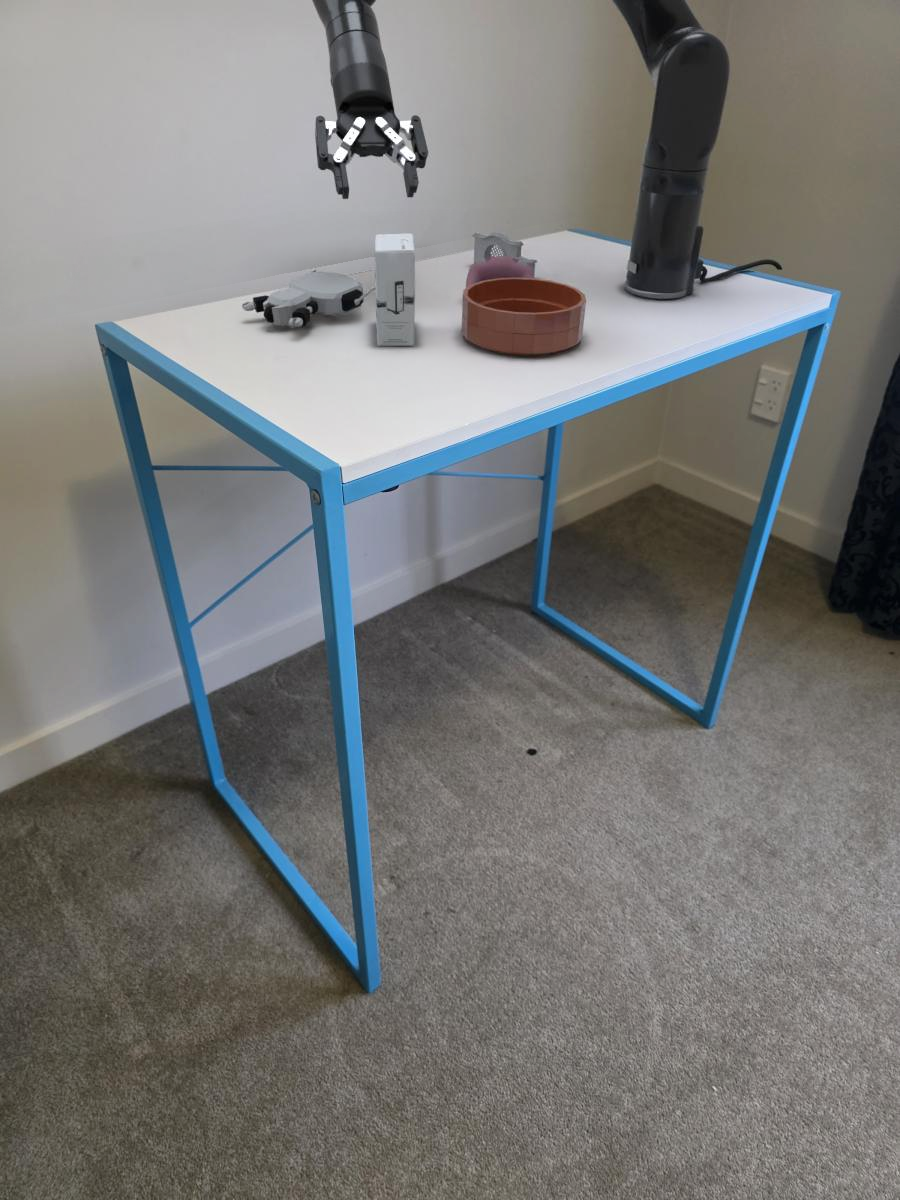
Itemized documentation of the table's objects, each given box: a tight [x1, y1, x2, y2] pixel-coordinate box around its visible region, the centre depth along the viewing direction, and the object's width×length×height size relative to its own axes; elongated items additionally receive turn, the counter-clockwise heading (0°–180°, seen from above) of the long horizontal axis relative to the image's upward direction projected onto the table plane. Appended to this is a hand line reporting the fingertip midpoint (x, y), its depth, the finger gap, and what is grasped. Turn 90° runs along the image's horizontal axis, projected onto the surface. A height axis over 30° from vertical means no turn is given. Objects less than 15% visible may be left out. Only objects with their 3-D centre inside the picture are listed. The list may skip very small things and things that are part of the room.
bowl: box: [461, 277, 587, 356], centre depth 111 cm, size 16×16×6 cm
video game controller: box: [465, 255, 535, 289], centre depth 124 cm, size 10×5×7 cm, turn 84°
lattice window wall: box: [471, 231, 538, 275], centre depth 136 cm, size 12×2×6 cm, turn 49°
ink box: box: [374, 233, 416, 347], centre depth 109 cm, size 9×5×12 cm, turn 4°
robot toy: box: [241, 269, 375, 329], centre depth 116 cm, size 12×4×15 cm
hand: (379, 194), depth 111 cm, fingers open, 8 cm apart
